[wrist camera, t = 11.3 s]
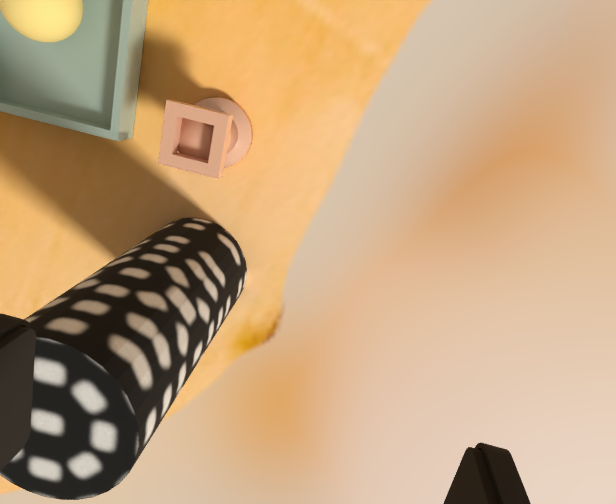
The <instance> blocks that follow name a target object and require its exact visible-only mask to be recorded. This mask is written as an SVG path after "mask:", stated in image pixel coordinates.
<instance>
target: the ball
mask: <svg viewBox="0 0 616 504" xmlns="http://www.w3.org/2000/svg"><path fill="white" fill-rule="evenodd" d="M0 10H1V12H2V14H3V16H4V17H5V19H6V20H7V22H8V23H9V24H10V25H11V26H12V27H13V28H14V29H15V30H17V31H18V32H19V33H21V34H22V35H24V36H26V37H28V38H30V39H32V40H35V41H39V42H58V41H61V40H64V39H66V38H68V37H69V36H71V35H72V34H73V33H74V32H75V31H76V30H77V28H78V27H79V25H80V23H81V20H82V16H83V0H0Z"/></svg>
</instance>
